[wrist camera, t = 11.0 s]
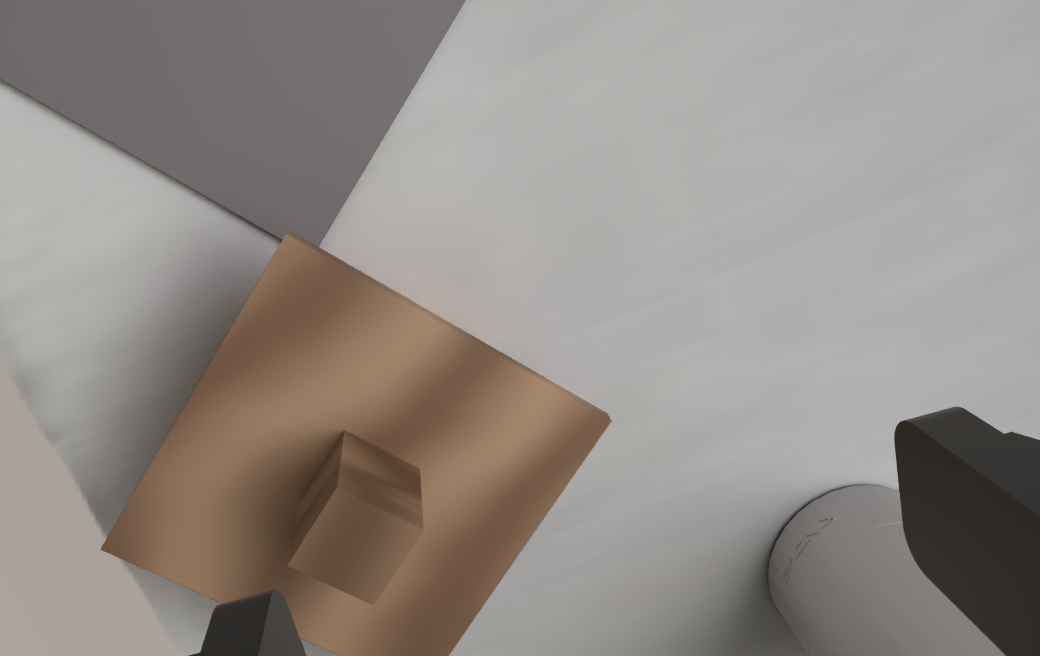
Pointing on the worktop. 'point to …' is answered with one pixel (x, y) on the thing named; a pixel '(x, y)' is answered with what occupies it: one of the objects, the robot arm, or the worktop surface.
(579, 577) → the worktop surface
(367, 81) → the charcoal mat
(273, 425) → the walnut lid
